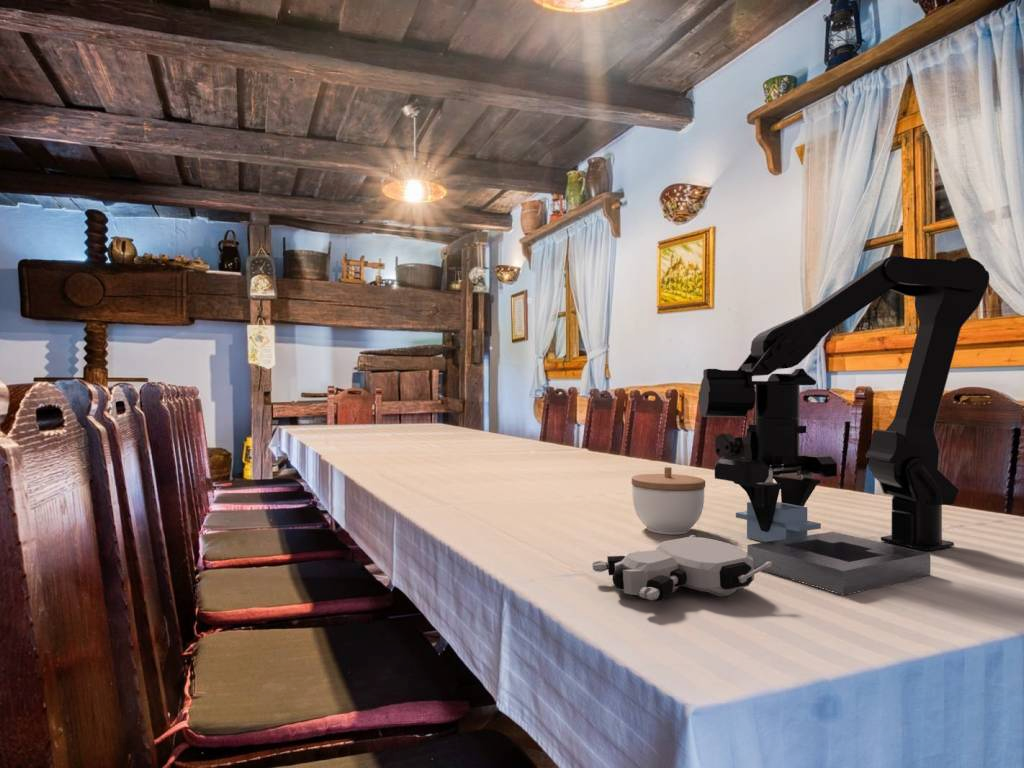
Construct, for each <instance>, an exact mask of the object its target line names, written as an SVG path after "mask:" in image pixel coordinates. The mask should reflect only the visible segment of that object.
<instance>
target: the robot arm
mask: <svg viewBox="0 0 1024 768" xmlns="http://www.w3.org/2000/svg"><path fill="white" fill-rule="evenodd" d="M989 284H990V273H989V271H988V270H987V269H986V267H985V265H983V264H982V263H981V262H980V261H978V260H977V259H974V258H971V257H960V258H957V259H954V260H952V259H946V258H945V259H944V258H915V257H914V258H913V257H908V256H907V257H906V256H901V255H891V256H889V257H886V258H883V259H881V260H879V261H876V262H874V263H873V264H871V265H870V267H869V268H868V269H867V270H865V271H864V272H862V273H861V274H859V275H858V276H856V277H855V278H854V279H852V280H850V281H849V282H848V283H846V284H845V285H843V286H842V287H840V288H839V289H838V290H835V291H834V292H833V293H832V294H830V295H829V296H827V297H825V299H823V300H822V301H820V302H819V303H817V304H816V305H814V306H813V307H811V308H809V309H808V310H807V311H805V312H804V313H802V314H799V315H798V316H796V317H794V318H790V319H789V320H786V321H784V322H781V323H779V324H777V325H775V326H772V327H770V328H768V329H766V330H764V331H761V332H759V333H758V334H757V335H756V336H754V338H753V339H752V341H751V346H750V353H749V354H748V355H747V357H746V359H744V361H743V362H742V363H741V365H740V366H739V368H738V369H737V370H736V369H735V370H734V369H733V370H732V369H731V370H730V369H729V370H728V369H727V370H726V369H724V370H723V369H719V368H706V369H703V372H702V373H703V375H702V376H703V377H702V378H701V379H702V380H701V382H700V388H699V389H700V390H699V391H698V407H699V412H700V415H701V417H703V418H704V417H706V418H708V417H711V418H712V417H713V418H716V417H717V418H745V417H746V416H747V414H748V412H749V411H753V410H754V412H755V414H754V423H749V424H748V425H747V427H746V435H744V436H735V437H734V435H733V434H732V433H720V434H718V435H717V434H716V436H715V440H714V441H715V442H714V450H715V454H716V457H719V459H718V460H717V461H716V462H715V464H714V479H716V480H722V481H727V482H732V483H733V484H736V485H739V487H740V488H741V489H743V490H744V491H745V493H746V494H747V496H748V498H749V502H751V504H752V506H753V509H754V512H755V515H756V518H757V521H758V524H759V526H760V529H761V531H764V532H769V530H770V527H771V524H772V520H773V516H774V512H775V508H776V503H777V502H778V499H779V495H780V499H781V500H780V502H781V503H787V504H792V505H797V506H803V507H805V505H806V503H807V501H808V500H809V498H810V497H811V495H812V493H813V492H814V491H815V488H816V487H817V486H818V485H819V484H821V482H822V480H821V479H816V478H813V474H814V475H815V474H816V475H819V476H821V477H823V478H831V477H837V476H838V474H837V473H838V470H837V469H838V468H837V467H838V463H837V462H836V461H835V459H834V458H833V457H832V456H831V455H820V454H811V453H800V434H807V425H800V387H801V386H815V385H817V381H816V379H814V378H813V377H812V376H810V374H808V373H807V372H806V370H805V369H804V368H795V369H794V371H793V372H792V373H774V372H775V371H777V370H784V369H790V368H793V367H795V366H797V365H799V364H800V363H801V362H802V361H803V360H805V359H806V357H808V355H810V353H812V352H813V351H814V350H815V348H817V346H818V345H819V343H820V342H821V340H823V338H824V337H825V336H826V335H827V334H828V333H829V332H831V330H833V329H835V328H837V327H838V326H839V325H841V324H842V323H844V322H845V321H846V320H848V319H849V318H851V317H852V316H853V315H855V314H857V313H858V312H860V311H861V310H863V309H864V308H866V307H867V306H868V305H869V304H872V303H873V302H874V301H876V300H877V299H879V298H880V297H881V296H883V295H885V294H886V293H887V292H889V291H891V292H894V293H897V294H899V295H902V296H905V297H912V298H914V308H915V312H916V314H917V318H918V328H917V333H916V336H915V340H914V342H913V347H912V351H911V355H910V359H909V362H908V367H907V369H906V373H905V377H904V381H903V384H902V389H901V392H900V395H899V399H898V403H897V405H896V406H897V407H896V411H895V414H894V418H893V420H892V422H891V423H890V424H889V425H888V426H887V428H886V429H885V430H883V429H873V431H872V433H871V439H870V440H871V442H870V447H869V449H868V450H867V452H866V453H865V455H864V456H865V457H866V458H869V459H868V470H869V471H870V473H871V475H872V476H873V478H874V479H876V481H878V482H879V485H880V489H881V490H882V493H883V494H884V495H889V496H892V498H891V529H890V530H891V535H885V536H880V542H884V543H889V544H894V545H898V546H900V545H901V546H903V547H908V548H912V549H913V548H914V549H917V550H921V551H923V550H924V551H927V552H928V551H935V550H939V549H946V548H949V547H955V542H954V541H950V540H945V539H943V505H951V506H952V505H954V504H955V501H956V499H957V496H958V493H959V489H958V488H957V486H956V485H954V484H953V483H952V482H951V481H950V480H949V479H948V478H947V477H946V476H945V475H944V474H943V473H942V472H941V471H940V470H939V462H940V447H939V444H938V439H937V436H936V432H935V426H936V422H937V419H938V414H939V411H940V407H941V403H942V399H943V396H944V391H945V388H946V384H947V381H948V377H949V374H950V371H951V370H950V369H951V366H952V362H953V359H954V355H955V352H956V348H957V344H958V341H959V336H960V332H961V329H962V328H963V326H964V325H965V323H966V322H967V321H968V320H969V318H971V316H972V315H973V314H974V313H975V311H976V310H977V309H978V308H979V306H980V304H981V302H982V300H983V298H984V296H985V294H986V291H987V290H988V287H989ZM769 375H770V376H769ZM759 376H769V377H768V379H767V380H753V377H759ZM774 481H775V482H774Z"/></svg>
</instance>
